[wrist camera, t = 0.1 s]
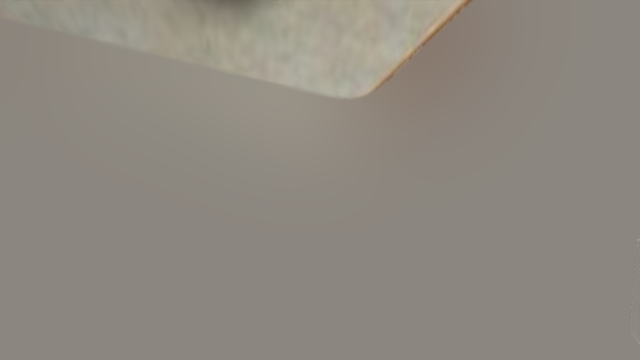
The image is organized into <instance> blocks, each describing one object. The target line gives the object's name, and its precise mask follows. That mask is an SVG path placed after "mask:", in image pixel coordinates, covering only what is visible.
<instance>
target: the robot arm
mask: <svg viewBox="0 0 640 360" xmlns="http://www.w3.org/2000/svg"><path fill="white" fill-rule="evenodd" d="M630 333H631V334H632V336H633V337H634V338H635V339H636V341H637V342H638V343H639V344H640V239H637V245H636V257H635V270H634V284H633V296H632V309H631V323H630Z"/></svg>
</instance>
